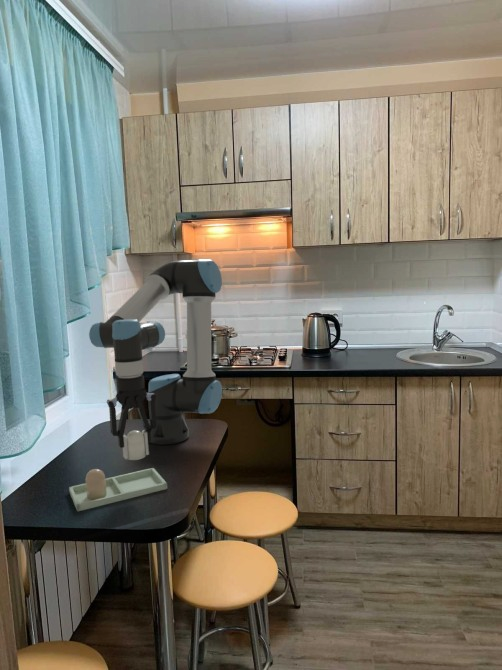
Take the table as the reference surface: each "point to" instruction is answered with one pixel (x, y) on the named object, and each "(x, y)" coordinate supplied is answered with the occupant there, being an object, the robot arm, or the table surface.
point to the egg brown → (95, 484)
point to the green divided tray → (120, 488)
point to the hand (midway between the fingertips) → (136, 455)
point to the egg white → (135, 445)
